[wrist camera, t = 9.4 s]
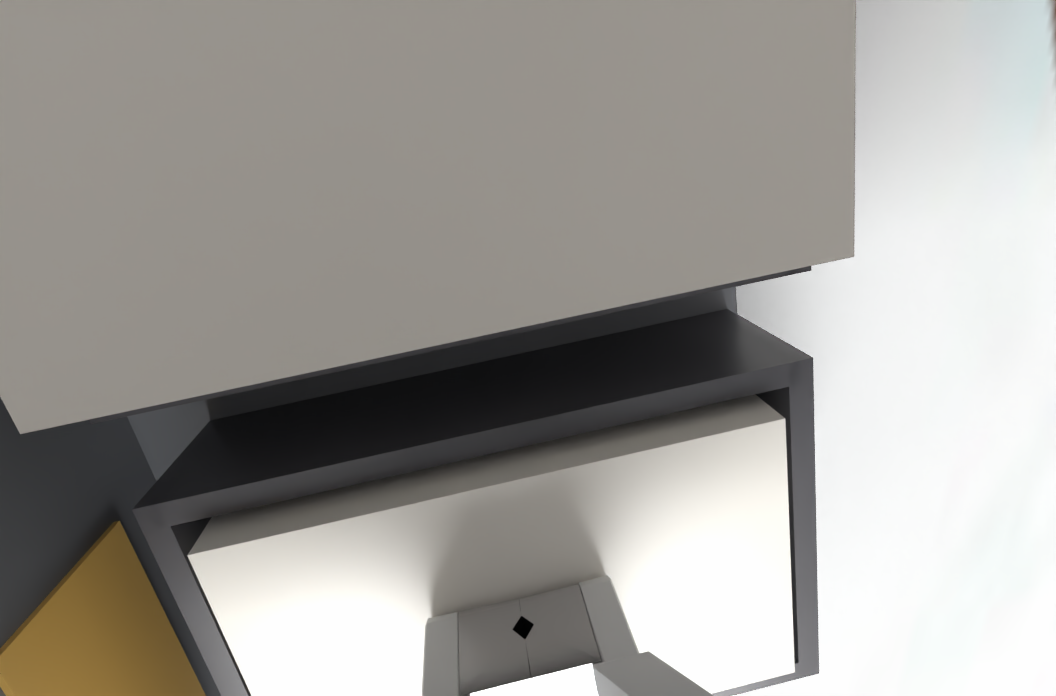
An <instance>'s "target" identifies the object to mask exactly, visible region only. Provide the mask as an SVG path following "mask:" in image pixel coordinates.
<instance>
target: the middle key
mask: <svg viewBox="0 0 1056 696" xmlns="http://www.w3.org/2000/svg"><path fill="white" fill-rule="evenodd" d="M855 34H856V0H0V397H1V399H2V401H3V403H4V405H5V407H6V409H7V410H8V412H9V414H10V416H11V418H12V420H13V422H14V424H15V425H16V427H17V429H18V431H19V433H20V434H23V433H28V432H33V431H37V430H42V429H47V428H52V427H56V426H61V425H66V424H70V423H75V422H80V421H84V420H89V419H94V418H98V417H103V416H108V415H113V414H117V413H122V412H127V411H131V410H136V409H141V408H145V407H150V406H155V405H160V404H164V403H169V402H174V401H178V400H183V399H188V398H192V397H197V396H202V395H206V394H211V393H216V392H221V391H225V390H230V389H235V388H239V387H244V386H249V385H253V384H258V383H263V382H268V381H272V380H277V379H282V378H286V377H291V376H296V375H300V374H305V373H310V372H314V371H319V370H324V369H329V368H333V367H338V366H343V365H347V364H352V363H357V362H361V361H366V360H371V359H376V358H380V357H385V356H390V355H394V354H399V353H404V352H408V351H413V350H418V349H423V348H427V347H432V346H437V345H441V344H446V343H451V342H455V341H460V340H465V339H469V338H474V337H479V336H484V335H488V334H493V333H498V332H502V331H507V330H512V329H516V328H521V327H526V326H531V325H535V324H540V323H545V322H549V321H554V320H559V319H563V318H568V317H573V316H577V315H582V314H587V313H592V312H596V311H601V310H606V309H610V308H615V307H620V306H624V305H629V304H634V303H639V302H643V301H648V300H653V299H657V298H662V297H667V296H671V295H676V294H681V293H685V292H690V291H695V290H700V289H704V288H709V287H714V286H718V285H723V284H728V283H732V282H737V281H742V280H747V279H751V278H756V277H761V276H765V275H770V274H775V273H779V272H784V271H789V270H793V269H798V268H803V267H808V266H812V265H817V264H822V263H826V262H831V261H836V260H840V259H845V258H850V257H854V206H855Z"/></svg>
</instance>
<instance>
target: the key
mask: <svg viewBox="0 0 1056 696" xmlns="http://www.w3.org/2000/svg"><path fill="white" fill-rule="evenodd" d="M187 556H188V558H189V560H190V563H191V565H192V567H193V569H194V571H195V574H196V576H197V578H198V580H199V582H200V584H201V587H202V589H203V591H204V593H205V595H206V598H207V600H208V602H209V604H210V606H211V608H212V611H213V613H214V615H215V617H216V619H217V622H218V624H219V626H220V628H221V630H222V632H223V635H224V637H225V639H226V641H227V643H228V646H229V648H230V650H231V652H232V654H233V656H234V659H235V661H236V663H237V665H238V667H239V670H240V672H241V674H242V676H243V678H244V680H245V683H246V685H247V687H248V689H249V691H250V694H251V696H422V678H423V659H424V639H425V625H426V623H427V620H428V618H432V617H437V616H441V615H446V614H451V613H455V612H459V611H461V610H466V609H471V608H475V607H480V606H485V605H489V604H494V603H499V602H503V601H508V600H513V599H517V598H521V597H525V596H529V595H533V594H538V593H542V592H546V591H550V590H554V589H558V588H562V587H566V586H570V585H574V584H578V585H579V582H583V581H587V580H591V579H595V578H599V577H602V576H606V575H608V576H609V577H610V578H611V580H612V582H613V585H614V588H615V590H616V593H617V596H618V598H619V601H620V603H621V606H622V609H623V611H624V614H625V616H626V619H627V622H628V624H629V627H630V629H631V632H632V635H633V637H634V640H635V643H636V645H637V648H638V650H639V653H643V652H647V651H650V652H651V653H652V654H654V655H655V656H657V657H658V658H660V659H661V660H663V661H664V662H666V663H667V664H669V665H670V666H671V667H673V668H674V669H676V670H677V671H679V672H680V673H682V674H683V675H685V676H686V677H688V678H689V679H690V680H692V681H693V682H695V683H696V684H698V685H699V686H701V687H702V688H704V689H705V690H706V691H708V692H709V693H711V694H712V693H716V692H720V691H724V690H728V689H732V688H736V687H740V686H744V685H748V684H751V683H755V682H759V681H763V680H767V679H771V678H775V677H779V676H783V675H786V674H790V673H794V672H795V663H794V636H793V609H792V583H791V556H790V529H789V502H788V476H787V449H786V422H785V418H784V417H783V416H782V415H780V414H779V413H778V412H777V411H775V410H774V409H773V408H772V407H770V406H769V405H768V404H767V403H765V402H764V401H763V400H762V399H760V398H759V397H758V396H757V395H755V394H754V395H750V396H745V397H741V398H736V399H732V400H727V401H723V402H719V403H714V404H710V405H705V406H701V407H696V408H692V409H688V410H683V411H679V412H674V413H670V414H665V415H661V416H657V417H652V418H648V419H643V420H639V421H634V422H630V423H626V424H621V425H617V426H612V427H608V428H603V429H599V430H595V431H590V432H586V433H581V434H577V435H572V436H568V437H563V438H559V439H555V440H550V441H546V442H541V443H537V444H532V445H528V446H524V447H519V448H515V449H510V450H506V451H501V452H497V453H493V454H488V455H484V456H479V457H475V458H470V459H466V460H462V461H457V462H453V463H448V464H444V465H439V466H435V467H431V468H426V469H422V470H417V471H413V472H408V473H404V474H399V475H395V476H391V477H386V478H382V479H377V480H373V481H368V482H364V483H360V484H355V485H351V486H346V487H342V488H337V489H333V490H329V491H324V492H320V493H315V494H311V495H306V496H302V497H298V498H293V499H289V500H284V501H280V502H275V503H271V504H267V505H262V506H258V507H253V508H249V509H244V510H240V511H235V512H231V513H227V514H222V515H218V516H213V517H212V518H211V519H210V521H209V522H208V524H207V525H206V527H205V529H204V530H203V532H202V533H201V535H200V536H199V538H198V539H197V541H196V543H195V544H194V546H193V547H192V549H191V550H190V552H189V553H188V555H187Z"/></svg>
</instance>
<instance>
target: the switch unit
mask: <svg viewBox="0 0 1056 696" xmlns="http://www.w3.org/2000/svg"><path fill="white" fill-rule="evenodd" d="M806 271H811V266H808V267H803V268H798V269H793V270H789V271H784V272H779V273H775V274H770V275H765V276H761V277H756V278H751V279H747V280H742V281H737V282H732V283H728V284H723V285H718V286H714V287H709V288H704V289H700V290H695V291H690V292H685V293H681V294H676V295H671V296H667V297H662V298H657V299H653V300H648V301H643V302H639V303H634V304H629V305H624V306H620V307H615V308H610V309H606V310H601V311H596V312H592V313H587V314H582V315H577V316H573V317H568V318H563V319H559V320H554V321H549V322H545V323H540V324H535V325H531V326H526V327H521V328H516V329H512V330H507V331H502V332H498V333H493V334H488V335H484V336H479V337H474V338H469V339H465V340H460V341H455V342H451V343H446V344H441V345H437V346H432V347H427V348H423V349H418V350H413V351H408V352H404V353H399V354H394V355H390V356H385V357H380V358H376V359H371V360H366V361H361V362H357V363H352V364H347V365H343V366H338V367H333V368H329V369H324V370H319V371H314V372H310V373H305V374H300V375H296V376H291V377H286V378H282V379H277V380H272V381H268V382H263V383H258V384H253V385H249V386H244V387H239V388H235V389H230V390H225V391H221V392H216V393H211V394H206V395H202V396H197V397H192V398H188V399H183V400H178V401H174V402H169V403H164V404H160V405H155V406H150V407H145V408H141V409H136V410H131V411H127V412H122V413H117V414H113V415H108V416H103V417H98V418H94V419H89V420H84V421H80V422H75V423H70V424H66V425H61V426H56V427H52V428H47V429H42V430H37V431H33V432H28V433H23V434H20V433H19V431H18V429H17V427H16V425H15V424H14V422H13V420H12V418H11V416H10V414H9V412H8V410H7V409H6V407H5V405H4V403H3V401H2V399H1V397H0V696H251V694H250V691H249V689H248V687H247V685H246V683H245V680H244V678H243V676H242V674H241V672H240V670H239V667H238V665H237V663H236V661H235V659H234V656H233V654H232V652H231V650H230V648H229V646H228V643H227V641H226V639H225V637H224V635H223V632H222V630H221V628H220V626H219V624H218V622H217V619H216V617H215V615H214V613H213V611H212V608H211V606H210V604H209V602H208V600H207V598H206V595H205V593H204V591H203V589H202V587H201V584H200V582H199V580H198V578H197V576H196V574H195V571H194V569H193V567H192V565H191V563H190V560H189V558H188V556H187V555H188V553H189V552H190V550H191V549H192V547H193V546H194V544H195V543H196V541H197V539H198V538H199V536H200V535H201V533H202V532H203V530H204V529H205V527H206V525H207V524H208V522H209V521H210V519H211V518H212V517H213V516H218V515H222V514H227V513H231V512H235V511H240V510H244V509H249V508H253V507H258V506H262V505H267V504H271V503H275V502H280V501H284V500H289V499H293V498H298V497H302V496H306V495H311V494H315V493H320V492H324V491H329V490H333V489H337V488H342V487H346V486H351V485H355V484H360V483H364V482H368V481H373V480H377V479H382V478H386V477H391V476H395V475H399V474H404V473H408V472H413V471H417V470H422V469H426V468H431V467H435V466H439V465H444V464H448V463H453V462H457V461H462V460H466V459H470V458H475V457H479V456H484V455H488V454H493V453H497V452H501V451H506V450H510V449H515V448H519V447H524V446H528V445H532V444H537V443H541V442H546V441H550V440H555V439H559V438H563V437H568V436H572V435H577V434H581V433H586V432H590V431H595V430H599V429H603V428H608V427H612V426H617V425H621V424H626V423H630V422H634V421H639V420H643V419H648V418H652V417H657V416H661V415H665V414H670V413H674V412H679V411H683V410H688V409H692V408H696V407H701V406H705V405H710V404H714V403H719V402H723V401H727V400H732V399H736V398H741V397H745V396H750V395H754V394H755V395H757V396H758V397H759V398H760V399H762V400H763V401H764V402H765V403H767V404H768V405H769V406H770V407H772V408H773V409H774V410H775V411H777V412H778V413H779V414H780V415H782V416H783V417H784V418H785V422H786V449H787V476H788V502H789V529H790V556H791V583H792V609H793V636H794V663H795V672H794V673H790V674H786V675H783V676H779V677H775V678H771V679H767V680H763V681H759V682H755V683H751V684H748V685H744V686H740V687H736V688H732V689H728V690H724V691H720V692H716V693H712V695H714V696H733V695H737V694H740V693H744V692H748V691H752V690H756V689H760V688H764V687H768V686H771V685H775V684H779V683H783V682H787V681H791V680H795V679H799V678H802V677H806V676H810V675H814V674H818V673H819V651H818V599H817V546H816V494H815V442H814V390H813V358H812V357H811V356H809V355H807V354H805V353H804V352H802V351H800V350H798V349H797V348H795V347H793V346H791V345H790V344H788V343H786V342H784V341H783V340H781V339H779V338H777V337H776V336H774V335H772V334H770V333H769V332H767V331H765V330H763V329H762V328H760V327H758V326H756V325H755V324H753V323H751V322H749V321H748V320H746V319H744V318H742V317H741V316H739V315H737V304H736V288H735V287H736V286H740V285H745V284H750V283H754V282H759V281H764V280H768V279H773V278H778V277H782V276H787V275H792V274H796V273H801V272H806Z"/></svg>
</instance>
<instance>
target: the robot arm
mask: <svg viewBox="0 0 1056 696" xmlns="http://www.w3.org/2000/svg"><path fill="white" fill-rule="evenodd" d="M422 696H714V695H712V694H711V693H709V692H708V691H706V690H705V689H704V688H702V687H701V686H699V685H698V684H696V683H695V682H693V681H692V680H690V679H689V678H688V677H686V676H685V675H683V674H682V673H680V672H679V671H677V670H676V669H674V668H673V667H671V666H670V665H669V664H667V663H666V662H664V661H663V660H661V659H660V658H658V657H657V656H655V655H654V654H652V653H651V652H650V651H647V652H643V653H639V650H638V648H637V645H636V643H635V640H634V637H633V635H632V632H631V629H630V627H629V624H628V622H627V619H626V616H625V614H624V611H623V609H622V606H621V603H620V601H619V598H618V596H617V593H616V590H615V588H614V585H613V582H612V580H611V578H610V577H609V576H608V575H606V576H602V577H599V578H595V579H591V580H587V581H583V582H579V585H578V584H574V585H570V586H566V587H562V588H558V589H554V590H550V591H546V592H542V593H538V594H533V595H529V596H525V597H521V598H517V599H513V600H508V601H503V602H499V603H494V604H489V605H485V606H480V607H475V608H471V609H466V610H461V611H459V612H455V613H451V614H446V615H441V616H437V617H432V618H428V620H427V623H426V625H425V639H424V659H423V678H422Z"/></svg>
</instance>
